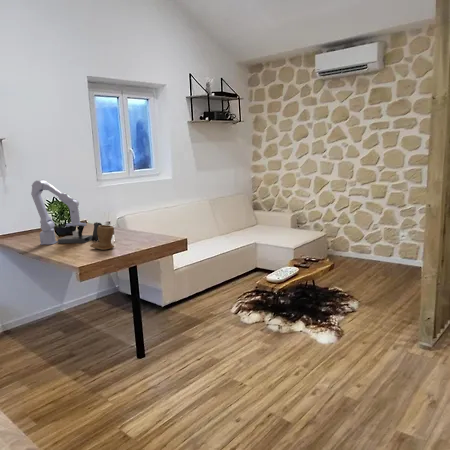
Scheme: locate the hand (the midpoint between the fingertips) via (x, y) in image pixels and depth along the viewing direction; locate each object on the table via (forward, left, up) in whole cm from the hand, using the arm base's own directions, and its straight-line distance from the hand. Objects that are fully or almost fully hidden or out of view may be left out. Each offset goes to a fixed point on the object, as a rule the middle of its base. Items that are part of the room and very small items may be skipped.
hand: (77, 236), depth 285 cm
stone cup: (+31, -23, -4) cm, 39 cm away
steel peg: (0, 0, -2) cm, 2 cm away
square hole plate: (-2, 0, -3) cm, 4 cm away
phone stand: (+14, +4, -4) cm, 15 cm away
